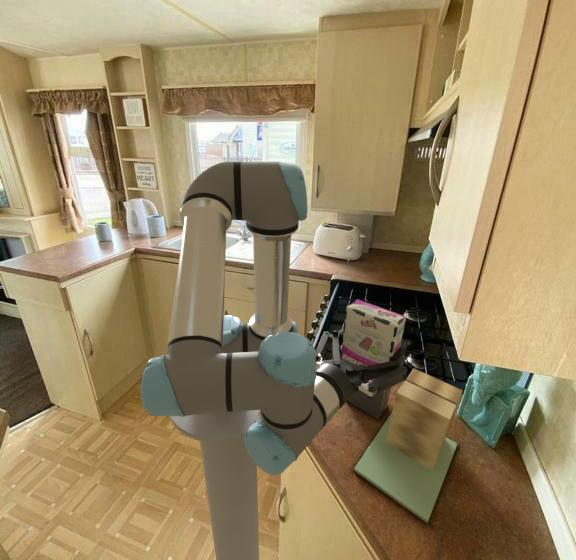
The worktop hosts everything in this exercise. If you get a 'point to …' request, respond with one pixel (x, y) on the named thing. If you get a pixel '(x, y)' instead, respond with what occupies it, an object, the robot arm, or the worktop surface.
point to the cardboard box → (422, 417)
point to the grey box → (371, 402)
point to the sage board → (405, 473)
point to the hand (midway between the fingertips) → (378, 337)
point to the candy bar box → (371, 334)
